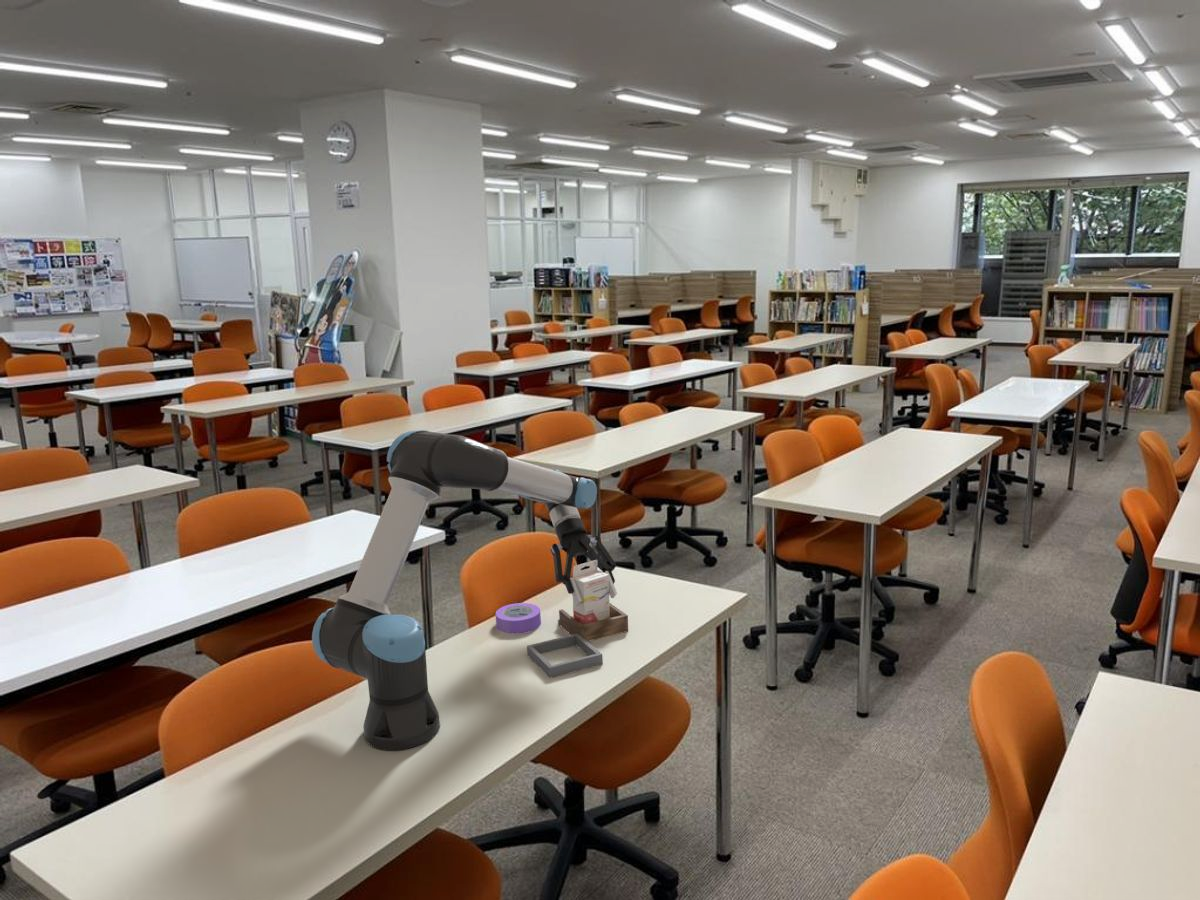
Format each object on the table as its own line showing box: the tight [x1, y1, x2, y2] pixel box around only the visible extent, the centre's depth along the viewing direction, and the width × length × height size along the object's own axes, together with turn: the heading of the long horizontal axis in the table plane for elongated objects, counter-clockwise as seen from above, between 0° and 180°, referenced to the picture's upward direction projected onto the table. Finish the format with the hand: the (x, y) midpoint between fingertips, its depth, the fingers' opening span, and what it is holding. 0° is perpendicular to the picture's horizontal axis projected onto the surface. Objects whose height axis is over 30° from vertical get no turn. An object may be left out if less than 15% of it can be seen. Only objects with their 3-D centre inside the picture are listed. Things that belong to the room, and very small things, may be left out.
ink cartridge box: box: [572, 560, 610, 625], centre depth 221 cm, size 9×5×15 cm, turn 130°
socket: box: [526, 633, 604, 679], centre depth 205 cm, size 14×14×2 cm
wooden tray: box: [557, 602, 629, 642], centre depth 223 cm, size 14×14×4 cm
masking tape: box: [495, 602, 542, 635], centre depth 226 cm, size 12×12×4 cm
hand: (596, 599), depth 218 cm, fingers closed on ink cartridge box, 9 cm apart
